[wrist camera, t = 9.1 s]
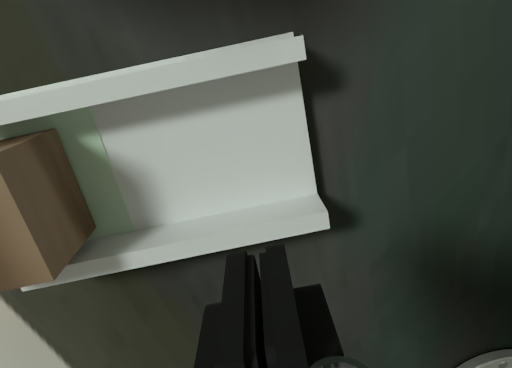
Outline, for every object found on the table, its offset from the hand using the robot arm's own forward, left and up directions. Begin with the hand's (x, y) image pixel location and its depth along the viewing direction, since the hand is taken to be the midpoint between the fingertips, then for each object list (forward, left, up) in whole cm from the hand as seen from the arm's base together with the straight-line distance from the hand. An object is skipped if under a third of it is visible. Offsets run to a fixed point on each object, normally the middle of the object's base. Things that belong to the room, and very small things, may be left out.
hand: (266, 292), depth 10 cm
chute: (+1, +6, -15) cm, 16 cm away
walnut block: (+1, +14, -14) cm, 20 cm away
